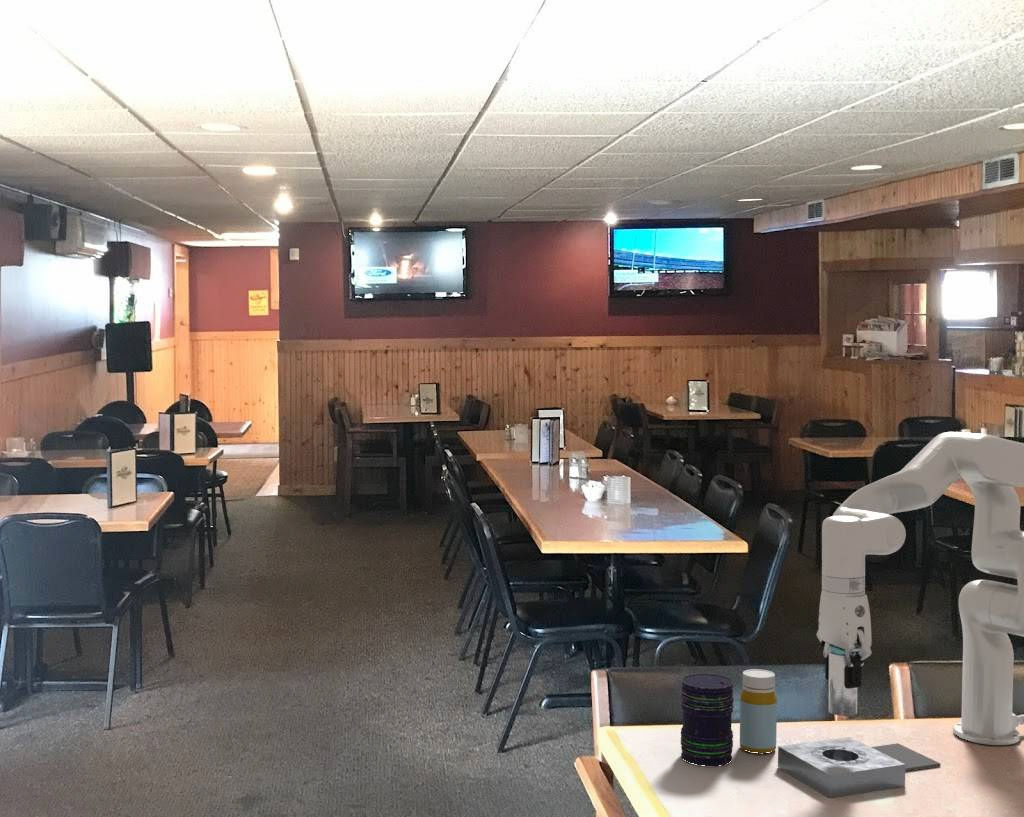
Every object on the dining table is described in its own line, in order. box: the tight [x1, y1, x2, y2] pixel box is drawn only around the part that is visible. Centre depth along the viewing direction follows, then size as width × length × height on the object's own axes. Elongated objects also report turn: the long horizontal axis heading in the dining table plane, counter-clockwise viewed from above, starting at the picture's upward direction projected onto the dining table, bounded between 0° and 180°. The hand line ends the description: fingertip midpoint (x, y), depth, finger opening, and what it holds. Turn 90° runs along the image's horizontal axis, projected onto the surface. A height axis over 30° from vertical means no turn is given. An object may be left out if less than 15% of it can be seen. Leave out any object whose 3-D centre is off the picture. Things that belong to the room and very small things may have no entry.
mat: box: [870, 742, 941, 772], centre depth 223 cm, size 12×12×1 cm
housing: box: [777, 736, 906, 799], centre depth 214 cm, size 16×16×4 cm
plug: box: [828, 645, 858, 717], centre depth 213 cm, size 5×5×12 cm
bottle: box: [739, 668, 778, 753], centre depth 228 cm, size 7×7×15 cm
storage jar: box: [680, 673, 734, 767], centre depth 223 cm, size 10×10×15 cm
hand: (843, 682), depth 213 cm, fingers closed on plug, 5 cm apart
